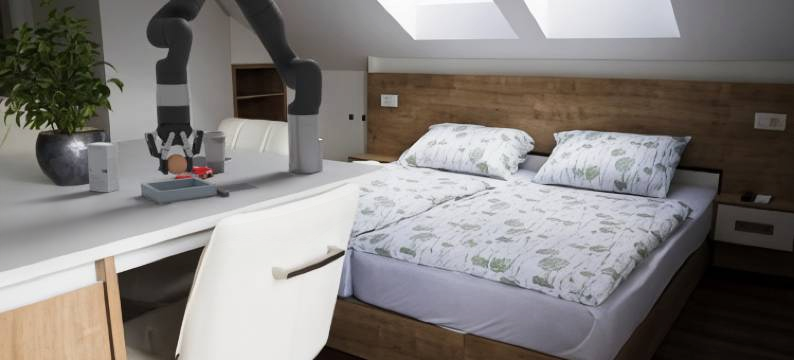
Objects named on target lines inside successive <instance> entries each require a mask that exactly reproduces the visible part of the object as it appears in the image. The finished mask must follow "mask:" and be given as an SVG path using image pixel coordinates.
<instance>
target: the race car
mask: <svg viewBox="0 0 794 360" xmlns="http://www.w3.org/2000/svg"><path fill="white" fill-rule="evenodd" d="M193 177H197V178H200V179H202V180H206V179H210V178H213V177H214V174H213V170H212V169H211V168H207V167H201V166H194V167H193V169H192V170H191V172H189V173H187V172H185V171H184V172H183V173H181V174H178V175H175V177H174V178H173V180H175V179H184V178H193Z"/></svg>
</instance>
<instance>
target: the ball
mask: <svg viewBox="0 0 794 360" xmlns="http://www.w3.org/2000/svg"><path fill="white" fill-rule="evenodd" d="M184 157H185V156H183V155H182V154H178V153H175V154H174V153H173V154H171V155H169V156H167V158H166V159H167V160H168V173H170V174H172V175H175V176H177V175H179V174H181V173H183V172H184V171H185V170H186V168H187V161H186V159H185V158H184Z"/></svg>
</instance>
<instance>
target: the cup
mask: <svg viewBox="0 0 794 360" xmlns="http://www.w3.org/2000/svg"><path fill="white" fill-rule="evenodd" d="M203 132H204V134H203V147H204V155H205V156H204V157H206V161H207V168H211V169H212V170H213V175H214V174H222V173H225V164H224V161H225V158H226V137H228V136H227V133H226V132H225V131H223V130H208V131H203ZM225 133H226V134H225Z"/></svg>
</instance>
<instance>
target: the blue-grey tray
mask: <svg viewBox="0 0 794 360" xmlns="http://www.w3.org/2000/svg"><path fill="white" fill-rule="evenodd" d="M216 187H217V185H216V184H215V183H213V182H209V181H207V180H206V179H204V180H202V179H200V178H197V177H193V178H184V179H175V180H174V179H167V180H161V181H160V180H159V181H149V182H143V183H140V191H141V196H142V197H144V198H146V199H148V200H149V199H150V200H149V201H151V202H153V203H154V204H156V205H158V204H159V206H162V205H161V204H163V205H167V204H168V205H169V204H170V205H171V204H172V203H173V202H180V201H181V202H182V201H188V200H195V199H203V198H210V197H217V195H218V194H217V189H216Z"/></svg>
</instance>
